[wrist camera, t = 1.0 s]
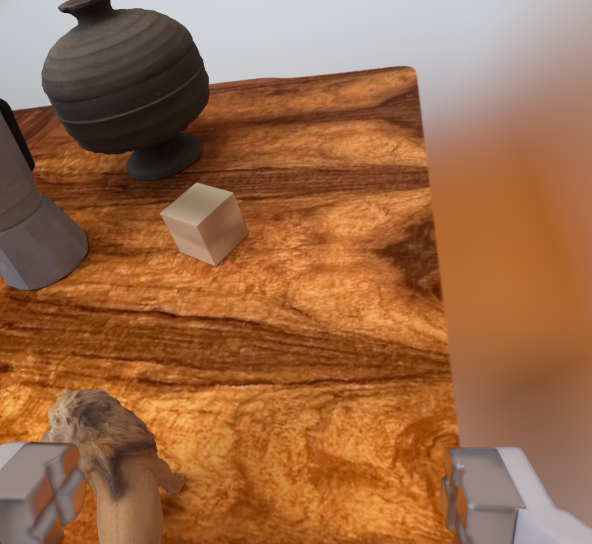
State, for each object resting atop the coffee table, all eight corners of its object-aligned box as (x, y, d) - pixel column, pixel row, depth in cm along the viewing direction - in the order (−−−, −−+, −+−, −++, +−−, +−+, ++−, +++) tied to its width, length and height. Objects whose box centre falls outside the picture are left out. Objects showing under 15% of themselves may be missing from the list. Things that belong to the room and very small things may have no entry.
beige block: (213, 222, 48) (196, 182, 45) (249, 233, 45) (233, 192, 42) (180, 252, 46) (159, 213, 42) (215, 266, 43) (196, 226, 39)
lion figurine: (97, 472, 31) (10, 406, 25) (169, 427, 32) (104, 354, 26) (160, 746, 21) (39, 751, 14) (262, 665, 22) (191, 638, 16)
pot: (66, 205, 56) (-39, 25, 43) (132, 139, 69) (67, -14, 56) (201, 198, 51) (128, -6, 39) (244, 129, 64) (201, -40, 52)
